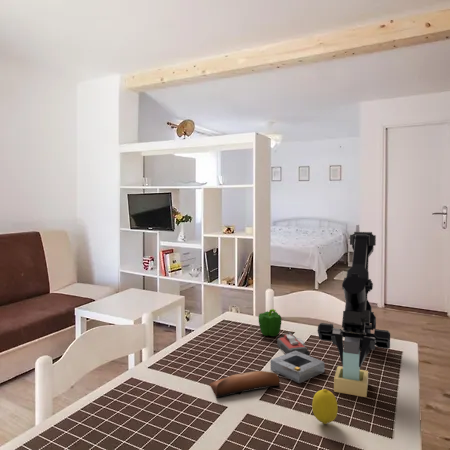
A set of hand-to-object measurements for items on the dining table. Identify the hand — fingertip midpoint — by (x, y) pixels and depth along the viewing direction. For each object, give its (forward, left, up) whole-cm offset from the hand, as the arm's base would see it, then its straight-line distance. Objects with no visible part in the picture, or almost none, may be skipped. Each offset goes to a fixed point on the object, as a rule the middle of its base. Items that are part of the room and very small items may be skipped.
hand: (351, 365), depth 101 cm
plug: (-1, -1, -7) cm, 7 cm away
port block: (+5, -16, -7) cm, 18 cm away
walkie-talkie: (-5, -32, -7) cm, 33 cm away
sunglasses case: (+23, -16, -7) cm, 29 cm away
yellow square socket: (-1, -1, -7) cm, 7 cm away
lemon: (+17, +8, -7) cm, 20 cm away
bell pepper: (-6, -45, -7) cm, 46 cm away
